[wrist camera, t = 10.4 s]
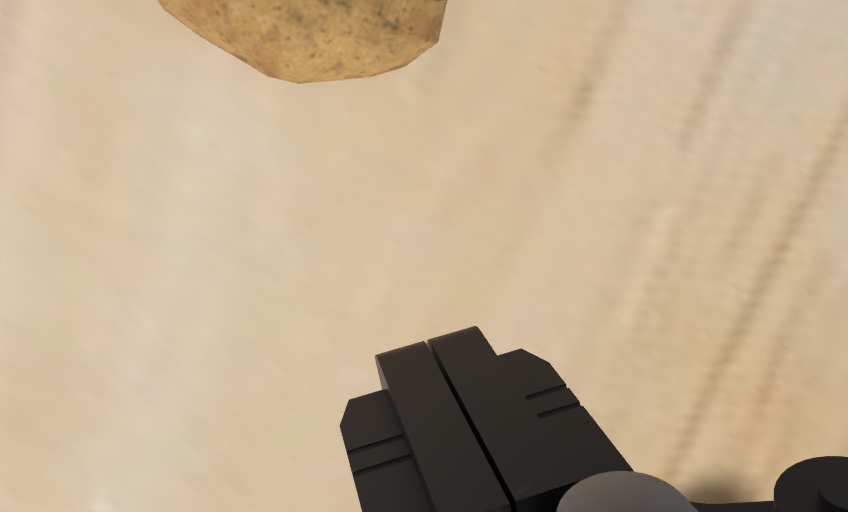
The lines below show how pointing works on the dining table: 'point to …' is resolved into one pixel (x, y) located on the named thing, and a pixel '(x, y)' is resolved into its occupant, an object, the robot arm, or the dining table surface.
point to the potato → (316, 34)
